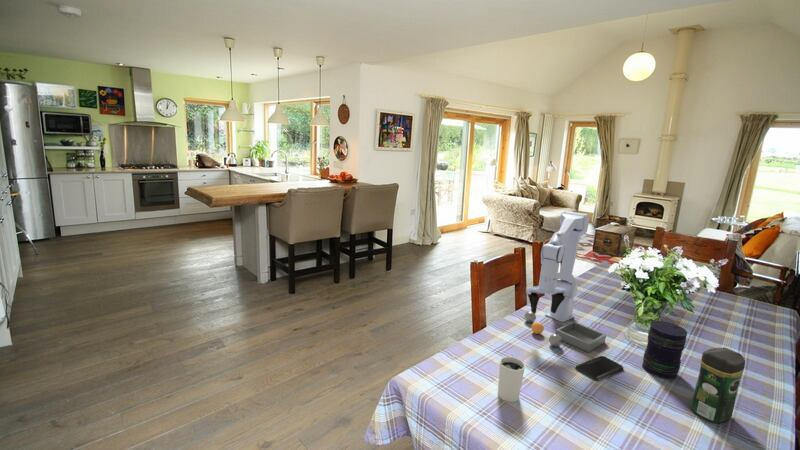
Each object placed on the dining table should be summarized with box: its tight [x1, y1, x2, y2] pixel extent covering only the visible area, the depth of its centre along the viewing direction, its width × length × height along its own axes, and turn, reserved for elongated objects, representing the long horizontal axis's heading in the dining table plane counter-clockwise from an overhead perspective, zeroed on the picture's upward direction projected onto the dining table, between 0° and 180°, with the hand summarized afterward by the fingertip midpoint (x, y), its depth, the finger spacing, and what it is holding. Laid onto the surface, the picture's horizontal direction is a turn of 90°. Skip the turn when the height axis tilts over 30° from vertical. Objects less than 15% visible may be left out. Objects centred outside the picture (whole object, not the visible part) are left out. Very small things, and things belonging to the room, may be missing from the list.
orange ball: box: [530, 321, 545, 335], centre depth 146 cm, size 4×4×4 cm
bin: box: [554, 320, 607, 354], centre depth 143 cm, size 13×13×3 cm
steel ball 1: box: [523, 310, 537, 324], centre depth 155 cm, size 4×4×4 cm
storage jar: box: [641, 320, 688, 380], centre depth 124 cm, size 10×10×15 cm
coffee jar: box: [689, 346, 746, 424], centre depth 105 cm, size 10×8×19 cm
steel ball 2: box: [548, 333, 563, 348], centre depth 137 cm, size 4×4×4 cm
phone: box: [575, 355, 625, 382], centre depth 125 cm, size 8×1×15 cm
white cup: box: [497, 356, 526, 403], centre depth 108 cm, size 7×7×10 cm
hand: (543, 312), depth 142 cm, fingers open, 7 cm apart
